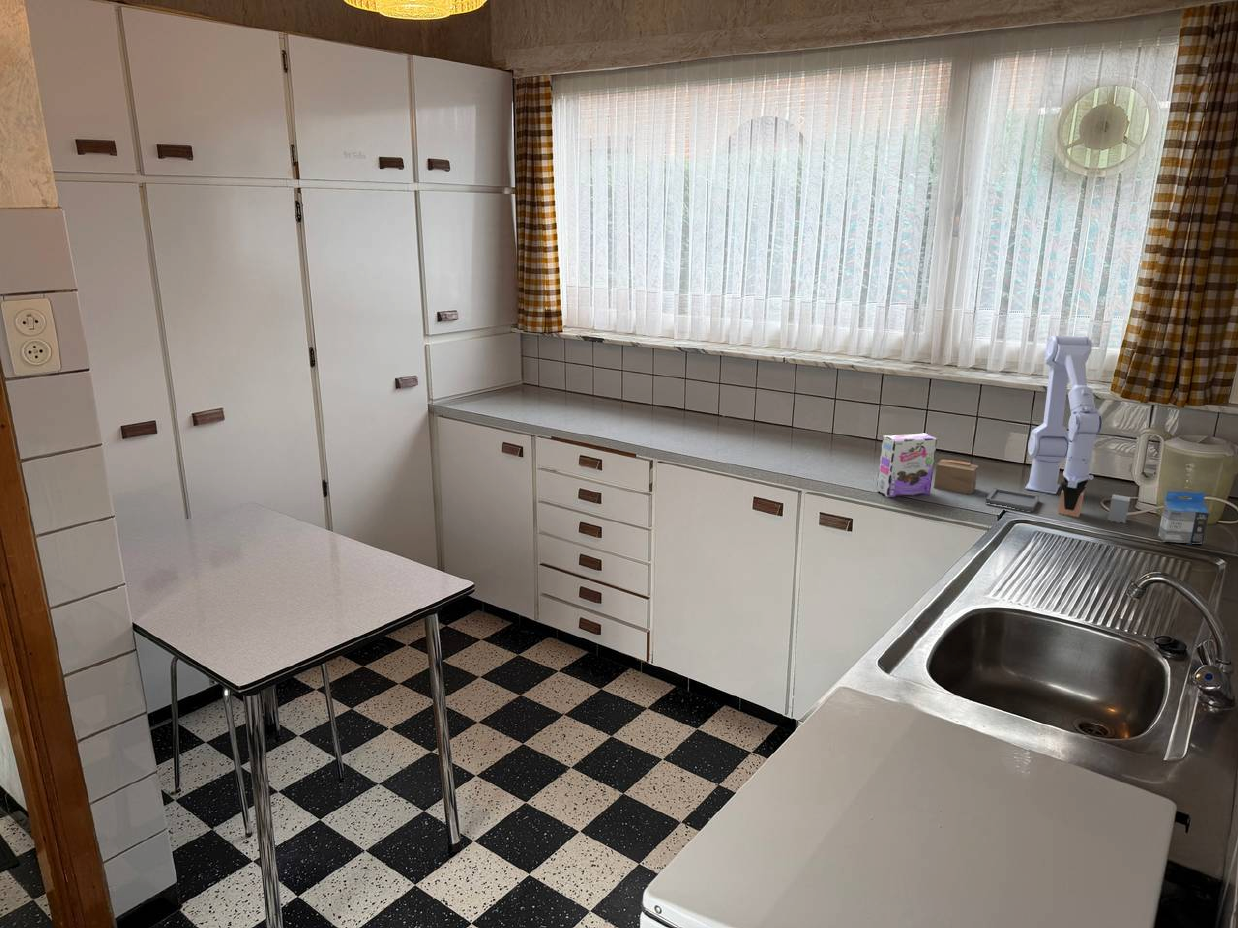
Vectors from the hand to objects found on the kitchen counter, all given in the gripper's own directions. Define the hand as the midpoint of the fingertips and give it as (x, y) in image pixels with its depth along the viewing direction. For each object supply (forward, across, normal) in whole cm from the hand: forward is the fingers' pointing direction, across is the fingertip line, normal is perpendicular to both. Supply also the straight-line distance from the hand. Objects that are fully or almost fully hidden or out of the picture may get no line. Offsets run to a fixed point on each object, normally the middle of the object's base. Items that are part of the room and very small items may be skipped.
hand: (1070, 507), depth 230 cm
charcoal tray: (+2, 0, +14) cm, 14 cm away
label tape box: (+2, -7, -25) cm, 26 cm away
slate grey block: (+2, +2, -11) cm, 11 cm away
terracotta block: (+2, 0, 0) cm, 2 cm away
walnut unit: (+2, +4, +30) cm, 30 cm away
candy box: (+2, -9, +41) cm, 42 cm away
